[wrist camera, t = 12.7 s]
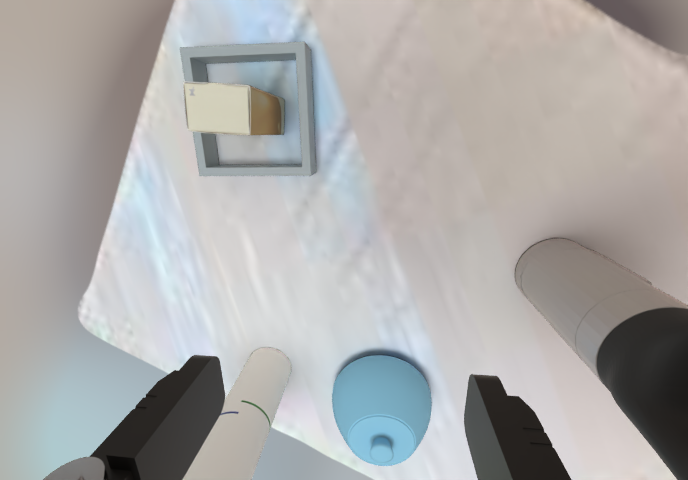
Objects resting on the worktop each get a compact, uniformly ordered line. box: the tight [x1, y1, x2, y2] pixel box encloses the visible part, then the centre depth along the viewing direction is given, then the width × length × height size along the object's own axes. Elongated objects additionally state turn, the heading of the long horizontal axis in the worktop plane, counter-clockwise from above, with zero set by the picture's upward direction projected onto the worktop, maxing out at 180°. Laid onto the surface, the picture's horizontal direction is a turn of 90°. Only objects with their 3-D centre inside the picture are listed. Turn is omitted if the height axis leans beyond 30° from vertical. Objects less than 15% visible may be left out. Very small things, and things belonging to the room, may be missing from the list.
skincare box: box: [183, 81, 285, 135], centre depth 35 cm, size 6×4×12 cm
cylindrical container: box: [183, 347, 291, 480], centre depth 41 cm, size 7×7×25 cm
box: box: [180, 42, 316, 176], centre depth 39 cm, size 14×14×4 cm
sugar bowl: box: [332, 355, 432, 466], centre depth 46 cm, size 15×15×12 cm
